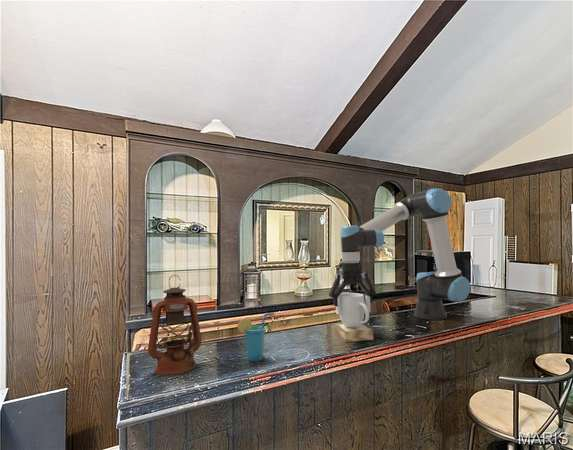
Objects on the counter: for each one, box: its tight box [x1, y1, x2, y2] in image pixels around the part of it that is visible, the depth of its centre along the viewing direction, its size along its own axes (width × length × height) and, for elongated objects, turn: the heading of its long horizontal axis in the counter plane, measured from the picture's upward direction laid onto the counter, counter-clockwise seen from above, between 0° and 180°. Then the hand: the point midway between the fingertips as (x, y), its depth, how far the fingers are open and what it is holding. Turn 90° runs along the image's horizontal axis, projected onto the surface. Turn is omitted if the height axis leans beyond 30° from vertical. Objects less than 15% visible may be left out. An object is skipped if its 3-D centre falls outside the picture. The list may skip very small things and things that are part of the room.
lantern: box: [147, 274, 203, 376], centre depth 105 cm, size 17×13×30 cm
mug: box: [338, 292, 370, 328], centre depth 134 cm, size 15×11×13 cm
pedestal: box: [334, 323, 374, 343], centre depth 134 cm, size 12×12×4 cm
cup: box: [236, 312, 275, 362], centre depth 111 cm, size 14×8×15 cm, turn 123°
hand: (353, 312), depth 134 cm, fingers open, 13 cm apart
